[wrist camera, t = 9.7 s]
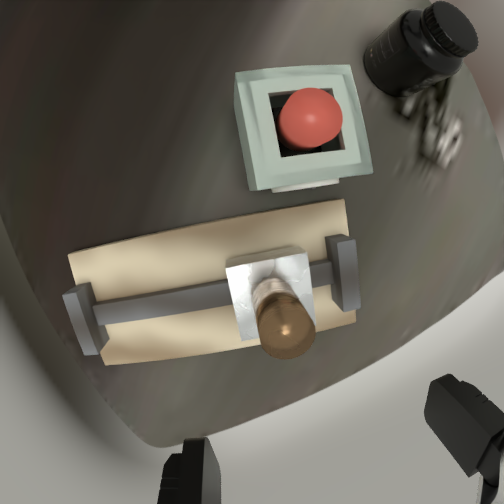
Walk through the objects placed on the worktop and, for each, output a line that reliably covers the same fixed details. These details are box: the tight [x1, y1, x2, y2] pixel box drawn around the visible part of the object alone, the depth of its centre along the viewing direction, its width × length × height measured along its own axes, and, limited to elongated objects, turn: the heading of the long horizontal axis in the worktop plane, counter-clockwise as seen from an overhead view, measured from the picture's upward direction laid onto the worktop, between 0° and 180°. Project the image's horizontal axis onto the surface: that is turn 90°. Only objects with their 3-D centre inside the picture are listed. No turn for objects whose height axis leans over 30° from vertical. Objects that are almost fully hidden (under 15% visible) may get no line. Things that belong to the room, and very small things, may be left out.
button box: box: [234, 65, 373, 193], centre depth 22 cm, size 9×8×8 cm
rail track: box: [62, 199, 361, 365], centre depth 25 cm, size 12×26×5 cm, turn 100°
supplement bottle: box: [365, 1, 478, 97], centre depth 19 cm, size 7×7×12 cm
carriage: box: [226, 246, 316, 359], centre depth 21 cm, size 6×6×10 cm
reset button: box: [275, 88, 343, 152], centre depth 18 cm, size 4×4×4 cm
